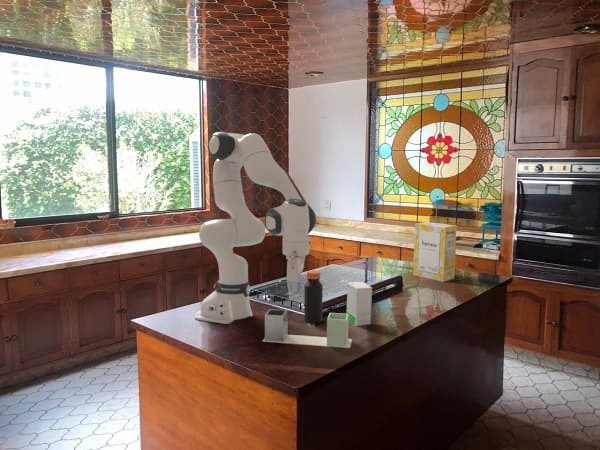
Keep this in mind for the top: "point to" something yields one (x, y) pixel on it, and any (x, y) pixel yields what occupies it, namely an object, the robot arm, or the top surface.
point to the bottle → (313, 298)
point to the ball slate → (298, 287)
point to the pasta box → (435, 251)
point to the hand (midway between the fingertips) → (295, 289)
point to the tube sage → (337, 329)
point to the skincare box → (359, 303)
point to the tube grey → (276, 325)
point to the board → (309, 340)
